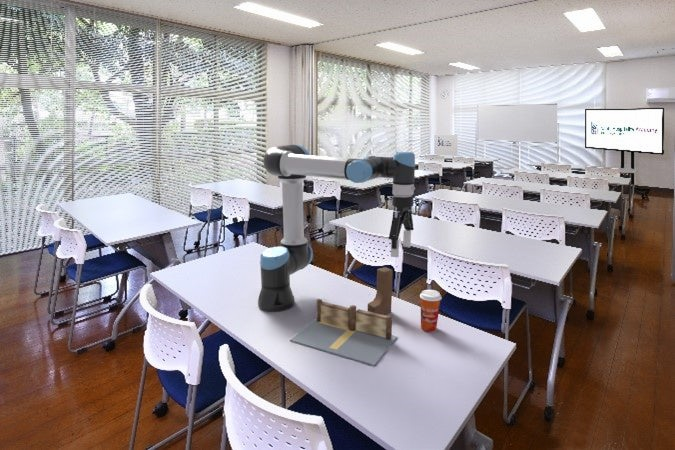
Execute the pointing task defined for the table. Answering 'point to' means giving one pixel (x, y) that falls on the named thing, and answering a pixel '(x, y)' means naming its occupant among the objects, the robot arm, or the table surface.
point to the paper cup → (429, 309)
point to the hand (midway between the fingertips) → (400, 251)
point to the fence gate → (374, 323)
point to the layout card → (344, 342)
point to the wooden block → (382, 292)
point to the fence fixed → (336, 315)
